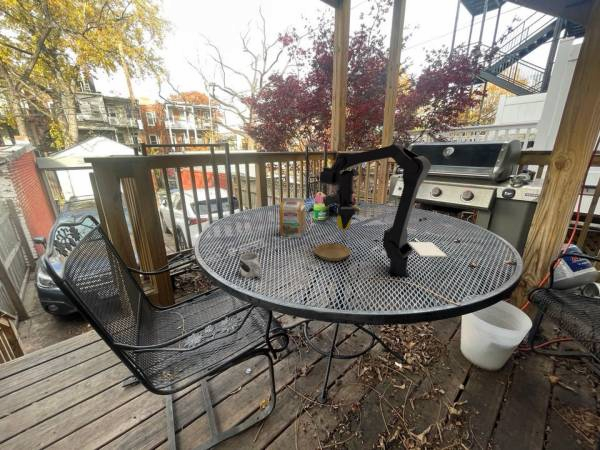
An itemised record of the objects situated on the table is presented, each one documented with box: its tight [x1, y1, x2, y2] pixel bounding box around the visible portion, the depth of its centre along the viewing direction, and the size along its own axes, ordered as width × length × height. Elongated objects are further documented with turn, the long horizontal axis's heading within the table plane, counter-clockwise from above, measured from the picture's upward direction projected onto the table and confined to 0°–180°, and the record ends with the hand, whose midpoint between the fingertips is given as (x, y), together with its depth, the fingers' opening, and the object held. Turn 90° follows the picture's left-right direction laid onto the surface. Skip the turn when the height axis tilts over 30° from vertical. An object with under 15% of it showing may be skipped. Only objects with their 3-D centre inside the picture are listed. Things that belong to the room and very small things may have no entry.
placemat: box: [408, 241, 448, 258], centre depth 107 cm, size 14×10×1 cm
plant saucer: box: [314, 242, 352, 262], centre depth 104 cm, size 15×15×3 cm
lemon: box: [336, 214, 352, 232], centre depth 100 cm, size 6×6×8 cm
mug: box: [239, 252, 263, 279], centre depth 89 cm, size 10×7×7 cm
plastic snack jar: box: [278, 197, 307, 239], centre depth 125 cm, size 11×11×19 cm
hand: (343, 226), depth 101 cm, fingers closed on lemon, 5 cm apart
